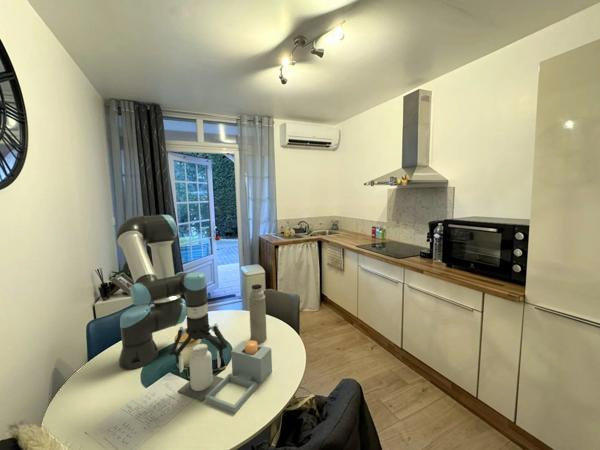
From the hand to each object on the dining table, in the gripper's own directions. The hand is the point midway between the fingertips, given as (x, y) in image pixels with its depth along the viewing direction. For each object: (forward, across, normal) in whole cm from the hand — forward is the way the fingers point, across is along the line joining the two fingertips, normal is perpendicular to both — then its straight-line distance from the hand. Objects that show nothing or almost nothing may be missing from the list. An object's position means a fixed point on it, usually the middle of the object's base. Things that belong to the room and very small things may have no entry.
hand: (200, 367), depth 100 cm
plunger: (+2, +19, +4) cm, 20 cm away
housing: (+7, +15, -3) cm, 17 cm away
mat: (+7, 0, 0) cm, 7 cm away
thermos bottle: (+8, +22, +29) cm, 38 cm away
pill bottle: (+7, 0, 0) cm, 7 cm away
